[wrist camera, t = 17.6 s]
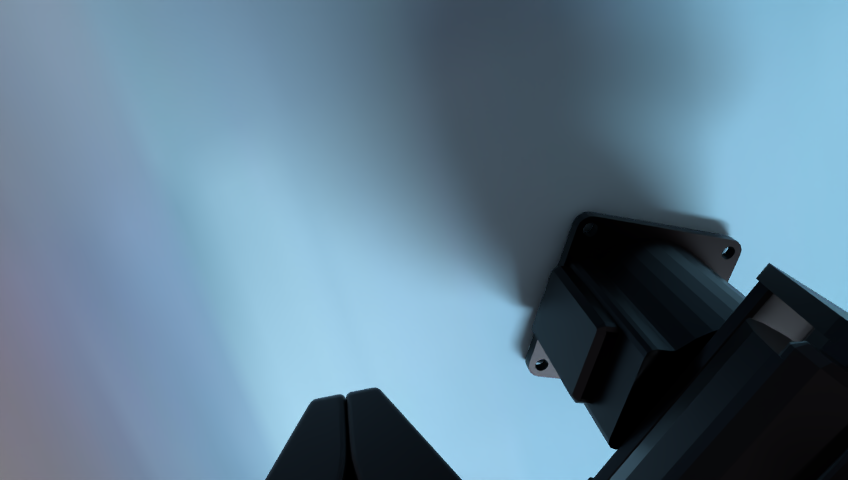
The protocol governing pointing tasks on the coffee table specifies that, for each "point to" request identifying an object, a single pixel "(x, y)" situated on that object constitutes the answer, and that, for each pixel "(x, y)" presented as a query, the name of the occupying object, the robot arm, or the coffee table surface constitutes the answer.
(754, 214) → the coffee table surface
